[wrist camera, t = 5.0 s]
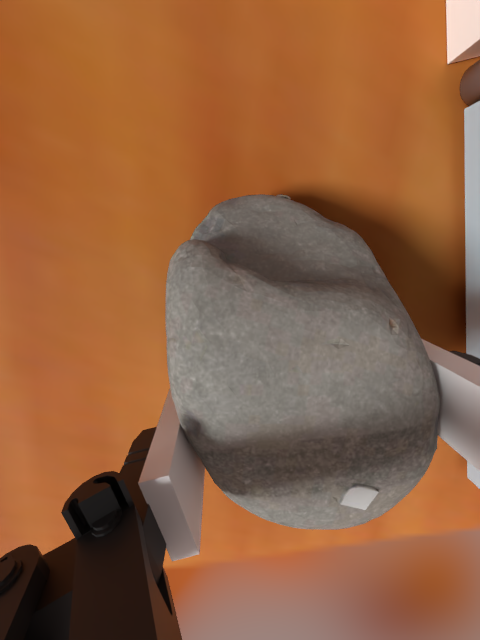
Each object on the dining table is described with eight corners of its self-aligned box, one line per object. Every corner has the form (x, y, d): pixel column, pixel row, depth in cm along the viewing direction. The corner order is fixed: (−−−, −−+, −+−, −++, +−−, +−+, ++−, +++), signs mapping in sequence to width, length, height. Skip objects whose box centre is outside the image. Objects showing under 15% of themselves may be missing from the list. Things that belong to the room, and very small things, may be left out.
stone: (400, 202, 12) (676, 434, 4) (331, 342, 18) (400, 538, 10) (187, 180, 11) (92, 415, 4) (191, 334, 17) (159, 538, 10)
